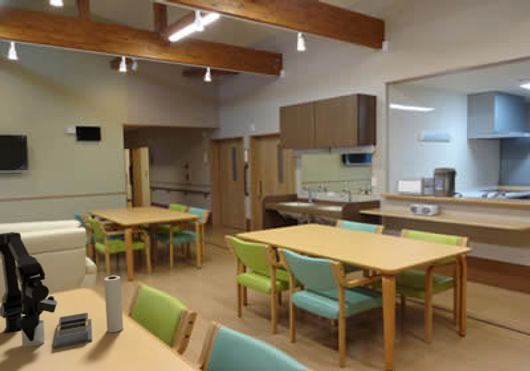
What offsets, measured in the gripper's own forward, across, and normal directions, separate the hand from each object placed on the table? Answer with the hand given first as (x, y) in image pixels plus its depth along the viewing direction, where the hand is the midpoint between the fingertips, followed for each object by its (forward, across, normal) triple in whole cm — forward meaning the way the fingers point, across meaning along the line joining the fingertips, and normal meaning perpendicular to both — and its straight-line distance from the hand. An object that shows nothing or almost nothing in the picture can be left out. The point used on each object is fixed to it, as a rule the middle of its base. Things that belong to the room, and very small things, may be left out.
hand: (33, 335), depth 152 cm
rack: (+3, +2, -14) cm, 14 cm away
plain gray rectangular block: (+3, 0, 0) cm, 3 cm away
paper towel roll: (+3, 0, -29) cm, 29 cm away
